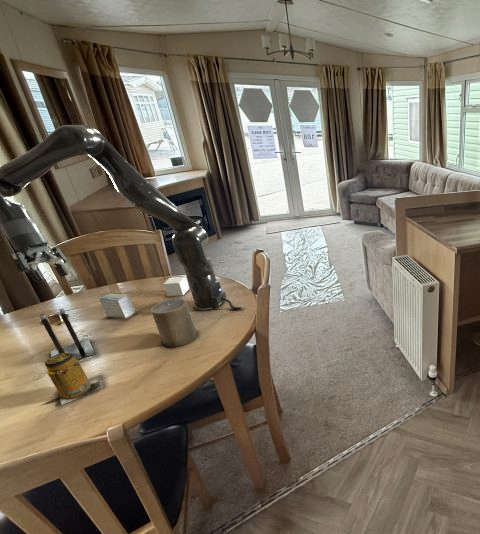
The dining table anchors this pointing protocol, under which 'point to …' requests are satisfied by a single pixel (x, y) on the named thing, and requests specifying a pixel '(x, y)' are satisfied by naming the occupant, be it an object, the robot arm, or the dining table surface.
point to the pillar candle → (174, 322)
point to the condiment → (69, 377)
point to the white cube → (176, 286)
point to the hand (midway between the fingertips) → (53, 278)
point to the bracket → (79, 347)
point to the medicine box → (117, 305)
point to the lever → (56, 320)
